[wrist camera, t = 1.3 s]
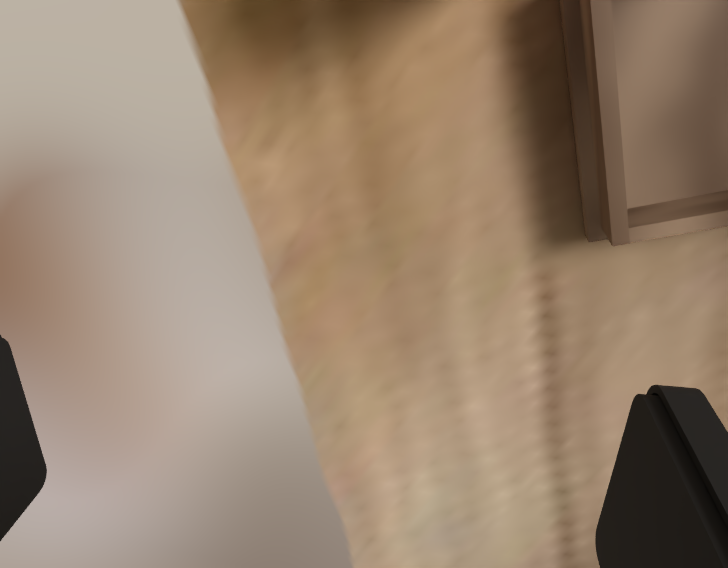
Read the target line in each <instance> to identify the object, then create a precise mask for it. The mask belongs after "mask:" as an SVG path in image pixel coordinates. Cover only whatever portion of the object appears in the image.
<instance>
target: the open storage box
mask: <svg viewBox="0 0 728 568" xmlns="http://www.w3.org/2000/svg"><path fill="white" fill-rule="evenodd" d="M559 3H560V12H561V21H562V30H563V39H564V48H565V57H566V66H567V75H568V84H569V93H570V102H571V111H572V120H573V129H574V138H575V147H576V156H577V165H578V174H579V183H580V192H581V201H582V210H583V219H584V228H585V236H586V238H587V239H588V241H589V242H593V241H599V240H604V239H609V241H610V243H611V244H612V246H617V245H623V244H628V243H634V242H640V241H645V240H651V239H657V238H663V237H668V236H674V235H680V234H686V233H691V232H697V231H703V230H708V229H714V228H720V227H726V226H728V0H559Z"/></svg>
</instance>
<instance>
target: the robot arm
mask: <svg viewBox="0 0 728 568" xmlns="http://www.w3.org/2000/svg"><path fill="white" fill-rule="evenodd" d="M46 473H47V469H46V464H45V461H44V457H43V454H42V451H41V447H40V444H39V441H38V438H37V434H36V431H35V428H34V424H33V421H32V418H31V414H30V411H29V408H28V404H27V401H26V398H25V394H24V391H23V388H22V384H21V381H20V378H19V375H18V371H17V368H16V365H15V361H14V358H13V355H12V351H11V348H10V345H9V343H8V342H7V341H6V340H5V339H4V338H2V337H1V335H0V541H1V539H2V538H3V537H4V536H5V535H6V533H7V532H8V531H9V530H10V528H11V527H12V526H13V525H14V523H15V522H16V521H17V520H18V518H19V517H20V516H21V514H22V513H23V512H24V511H25V509H26V508H27V507H28V506H29V504H30V503H31V502H32V501H33V499H34V498H35V497H36V496H37V494H38V493H39V492H40V490H41V489H42V487H43V485H44V482H45V479H46ZM596 552H597V557H598V561H599V565H600V568H728V432H727V431H726V429H725V427H724V426H723V424H722V423H721V421H720V419H719V418H718V416H717V415H716V413H715V411H714V410H713V408H712V406H711V405H710V403H709V402H708V400H707V398H706V397H705V395H704V394H703V393H702V392H701V391H700V390H698V389H696V388H685V387H674V386H662V385H653V386H651V387H650V389H649V390H648V392H647V394H646V395H645V394H638V395H636V396H635V397H634V399H633V402H632V405H631V409H630V412H629V416H628V419H627V423H626V426H625V430H624V433H623V437H622V441H621V444H620V448H619V451H618V455H617V458H616V462H615V465H614V469H613V472H612V476H611V479H610V483H609V486H608V490H607V493H606V497H605V500H604V504H603V508H602V511H601V515H600V518H599V522H598V525H597V529H596Z"/></svg>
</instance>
